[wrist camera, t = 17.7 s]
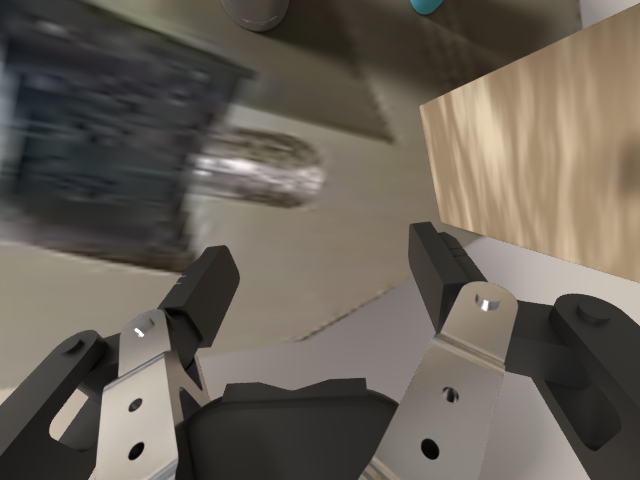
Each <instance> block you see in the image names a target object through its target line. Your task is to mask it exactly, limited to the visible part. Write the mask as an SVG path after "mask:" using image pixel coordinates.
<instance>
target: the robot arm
mask: <svg viewBox="0 0 640 480" xmlns="http://www.w3.org/2000/svg"><path fill="white" fill-rule="evenodd" d="M221 3H222V6H223V7H224V9H225V11H226V12H227V14H228V15H229V16H230V17H231V18H232V19H233V20H234V21H235V22H236V23H237V24H238V25H240V26H242V27H244V28H245V29H248V30H251V31H261V32H262V31H266V30H270V29H272V28H273V27H275V26H276V25H278V24H279V23H280V22H281V20H282V19H283V18H284V16H285V14H286V12H287V9H288V5H289V0H221ZM408 257H409V264H410V268H411V271H412V273H413V276H414V278H415V281H416V283H417V286H418V288H419V291H420V293H421V296H422V298H423V301H424V303H425V306H426V309H427V311H428V313H429V316H430V319H431V321H432V324H433V326H434V328H435V331H436V334H435V336H434V337H433V338H432V340H431V342H430V344H429V346H428V348H427V350H426V352H425V354H424V356H423V358H422V360H421V362H420V364H419V366H418V368H417V370H416V372H415V374H414V376H413V378H412V380H411V382H410V384H409V386H408V388H407V390H406V392H405V394H404V396H403V398H402V400H401V402H400V404H399V403H397V402H396V401H394V400H393V399H391V398H389V397H388V396H386V395H384V394H381V393H379V392H376V391H373V390H369V389H367V387H366V379H365V378H350V379H329V380H326V381H323V382H320V383H317V384H314V385H310V386H307V387H304V388H301V389H298V390H293V391H291V390H286V389H282V388H278V387H275V386H271V385H267V384H263V383H259V382H257V383H234V384H227V385H226V388H225V391H224V394H223V396H222V397H219V398H217V399H215V400H213V401H211V400H210V397H209V395H208V391H207V388H206V384H205V381H204V377H203V373H202V370H201V366H200V363H199V359H198V357H197V356H196V354H195V353H196V351H197V349H198V348H207V347H211V346H212V343H213V341H214V339H215V337H216V334H217V332H218V330H219V328H220V325H221V323H222V321H223V319H224V316H225V314H226V312H227V310H228V307H229V305H230V303H231V301H232V298H233V296H234V294H235V292H236V289H237V287H238V285H239V281H240V276H239V271H238V269H237V267H236V264H235V262H234V260H233V258H232V255H231V253H230V251H229V249H228V247H227V246H225V245H222V246H213V247H207V248H206V249H205V251H204V252H203V254H202V255H201V256H200V258H199V259H197V260H196V261H195V262H194V263H192V264H191V265H190V266H189V267H188V268H187V269H186V270H185V272H184V273H183V274H182V277H180V278H179V280H178V281H177V282H176V283H177V284H175V285H174V286H173V288H172V289H171V291H170V292H169V293H168V295H167V296H166V297H165V299H164V300H163V301H162V303H161V304H160V305H159V307H158V308H157V309H153V310H149V311H146V312H144V313H142V314H140V315H138V316H137V317H135V318H134V319H132V320H131V321H130V322H129V323H128V324H127V325H126V326H125V327H124V329H123V330H122V332H121V333H118V334H115V335H112V336H109V337H106V338H102V337H101V336H100V335H99V334H98V333H97V332H96V331H94V330H86V331H82V332H80V333H77V334H75V335H73V336H71V337H70V338H68V339H66V340H65V341H63V342H62V343H61V344H60V345H58V346H57V347H56V348H55V349H54V350H53V351H52V352H51V353H50V354H49V355H48V356H47V357H46V358H45V359H44V360H43V361H42V363H41V364H40V365H39V366H38V367H37V368H36V369H35V370H34V371H33V372H32V373H31V374H30V375H29V376H28V377H27V378H26V379H25V380H24V381H23V382H22V383H21V384H20V386H19V387H18V388H17V389H16V390H15V391H14V392H13V393H12V394H11V395H10V396H9V397H8V398H7V399H6V400H5V401H4V402H3V403H2V404H1V406H0V480H88V479H89V477H90V475H91V474H92V472H93V470H94V468H95V467H96V470H95V471H96V472H95V480H478V479H479V475H480V470H481V466H482V462H483V458H484V454H485V450H486V446H487V441H488V438H489V434H490V429H491V425H492V421H493V417H494V413H495V409H496V405H497V401H498V397H499V393H500V389H501V384H502V380H503V376H504V372H505V371H508V372H511V373H515V374H520V375H524V376H528V377H531V378H532V380H533V382H534V383H535V385H536V387H537V388H538V390H539V392H540V394H541V395H542V397H543V399H544V400H545V402H546V404H547V406H548V407H549V409H550V411H551V412H552V414H553V416H554V418H555V419H556V421H557V423H558V424H559V426H560V428H561V430H562V431H563V433H564V435H565V436H566V438H567V440H568V442H569V443H570V445H571V447H572V449H573V450H574V452H575V454H576V455H577V457H578V459H579V461H580V462H581V464H582V466H583V467H584V469H585V471H586V472H587V474H588V476H589V478H590V479H591V480H640V326H639V325H638V324H637V323H636V322H634V321H633V320H632V319H631V318H630V317H629V316H628V315H627V314H625V313H624V312H623V311H622V310H621V309H619V308H617V307H616V306H614V305H612V304H611V303H608V302H606V301H604V300H602V299H599V298H596V297H593V296H589V295H584V294H566V295H562V296H560V297H559V298H557V300H556V302H555V304H554V306H552V305H545V304H538V303H531V302H525V301H519V300H516V299H515V297H514V296H513V295H512V294H511V293H510V292H509V291H508V290H506V289H504V288H503V287H501V286H499V285H496V284H493V283H489V282H488V281H487V280H486V278H485V277H484V276H483V274H482V273H481V272H480V270H479V269H478V268H477V266H476V265H475V264H474V262H473V261H472V260H471V258H470V257H469V256H468V254H467V253H466V251H465V250H464V249H462V246H461V245H460V243H459V242H458V241H457V239H456V238H454V237H452V236H451V235H449V234H447V233H446V232H442V233H437V231H436V230H435V228H434V226H433V225H432V223H431V222H422V223H413V224H410V227H409V250H408ZM76 388H77V389H79V390H80V391H81V392H83V393H84V394H85V395H87V396H88V397H89V398H88V400H87V401H86V402H85V404H84V405H83V407H82V408H81V409H80V411H79V412H78V414H77V415H76V417H75V418H74V419H73V421H72V422H71V424H70V425H69V426H68V428H67V429H66V431H65V432H64V434H63V435H62V436H61V438H60V439H59V441H57V440H55V439H53V438H52V437H51V436H50V434H49V427H50V424H51V422H52V420H53V418H54V417H55V416H56V414H57V413H58V412H59V410H60V409H61V408H62V407H63V405H64V404H65V403H66V401H67V400H68V399H69V397H70V396H71V395H72V393H73V392H74V391H75V390H76Z"/></svg>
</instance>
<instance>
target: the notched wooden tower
mask: <svg viewBox="0 0 640 480" xmlns="http://www.w3.org/2000/svg"><path fill="white" fill-rule="evenodd" d="M419 108H420V113H421V119H422V124H423V129H424V134H425V140H426V145H427V150H428V155H429V161H430V166H431V171H432V176H433V182H434V187H435V192H436V197H437V203H438V208H439V213H440V218H441V222H442V223H445V224H448V225H452V226H455V227H458V228H462V229H465V230H468V231H471V232H475V233H478V234H481V235H484V236H488V237H491V238H494V239H497V240H501V241H504V242H507V243H511V244H514V245H517V246H520V247H524V248H527V249H530V250H533V251H536V252H540V253H543V254H546V255H550V256H553V257H556V258H559V259H562V260H566V261H569V262H572V263H575V264H579V265H582V266H585V267H588V268H592V269H595V270H598V271H602V272H605V273H608V274H611V275H615V276H618V277H621V278H624V279H628V280H631V281H634V282H637V283H640V3H639V4H636V5H634V6H632V7H630V8H628V9H626V10H623V11H621V12H619V13H618V14H615V15H613V16H611V17H609V18H606V19H605V20H602V21H600V22H598V23H596V24H594V25H592V26H589V27H587V28H585V29H583V30H581V31H579V32H576V33H574V34H572V35H570V36H568V37H566V38H564V39H562V40H559V41H557V42H555V43H553V44H551V45H549V46H547V47H544V48H542V49H540V50H538V51H536V52H534V53H532V54H530V55H527V56H525V57H523V58H521V59H519V60H517V61H515V62H512V63H510V64H508V65H506V66H504V67H502V68H500V69H497V70H495V71H493V72H491V73H489V74H487V75H485V76H483V77H480V78H478V79H476V80H474V81H472V82H470V83H468V84H465V85H463V86H461V87H459V88H457V89H455V90H453V91H450V92H448V93H446V94H444V95H442V96H440V97H438V98H436V99H433V100H431V101H429V102H427V103H425V104H423V105H421V106H419Z"/></svg>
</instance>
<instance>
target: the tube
mask: <svg viewBox="0 0 640 480" xmlns="http://www.w3.org/2000/svg"><path fill="white" fill-rule="evenodd" d="M410 1H411V4H412V6H413V8H414V9H415V10H416V11H417V12H418V13H420V14H430V13H431V12H433V11H434V10H435V9H436V8H437V7H438V6H439V5H440V4H441V3H442V2H443V0H410Z"/></svg>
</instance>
